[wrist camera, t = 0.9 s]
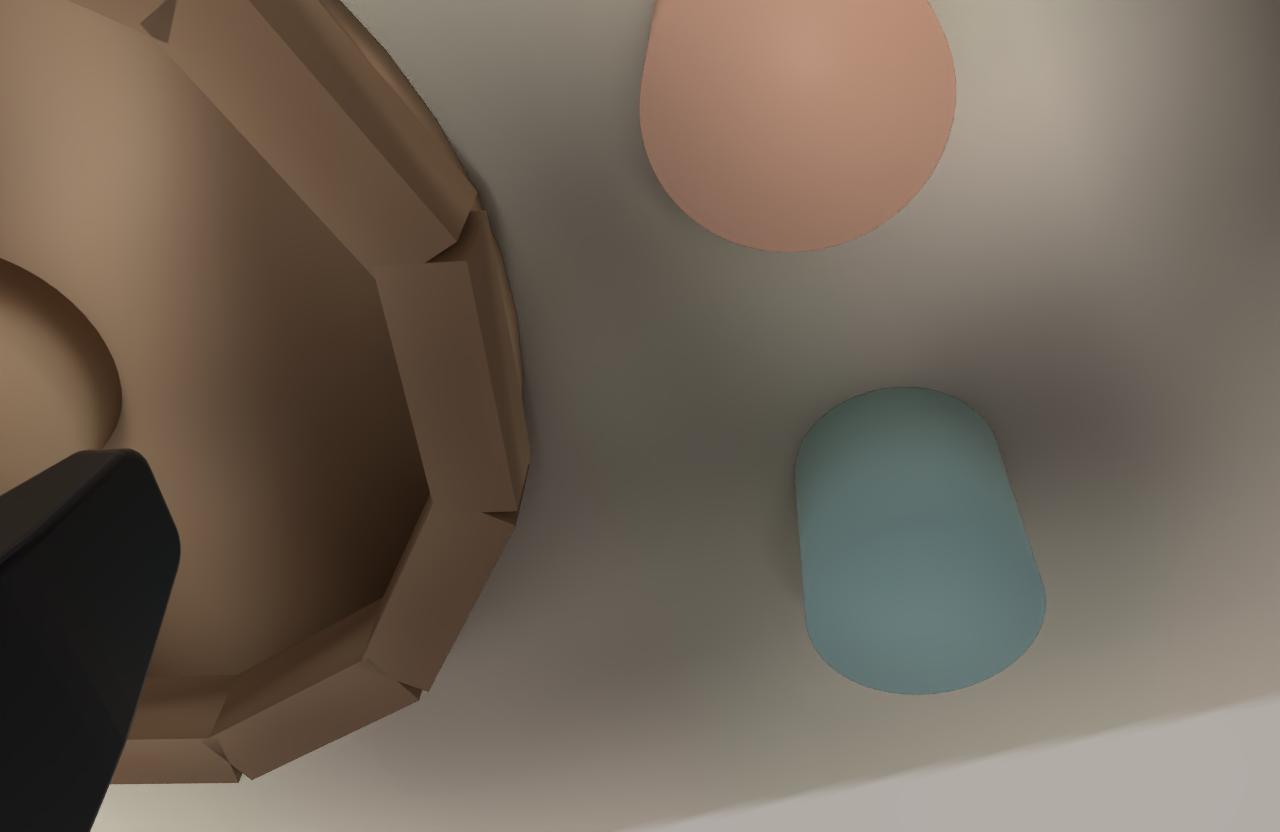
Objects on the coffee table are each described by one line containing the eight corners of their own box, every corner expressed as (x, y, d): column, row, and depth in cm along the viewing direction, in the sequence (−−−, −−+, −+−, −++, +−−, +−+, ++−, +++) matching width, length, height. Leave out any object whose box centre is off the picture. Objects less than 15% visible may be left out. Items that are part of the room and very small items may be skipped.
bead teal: (1008, 381, 22) (1058, 520, 18) (991, 542, 24) (1033, 692, 21) (792, 391, 22) (803, 528, 19) (796, 549, 24) (807, 696, 21)
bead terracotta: (918, -133, 17) (966, -69, 13) (909, 132, 19) (946, 244, 16) (643, -108, 17) (623, -39, 14) (665, 149, 19) (653, 260, 16)
